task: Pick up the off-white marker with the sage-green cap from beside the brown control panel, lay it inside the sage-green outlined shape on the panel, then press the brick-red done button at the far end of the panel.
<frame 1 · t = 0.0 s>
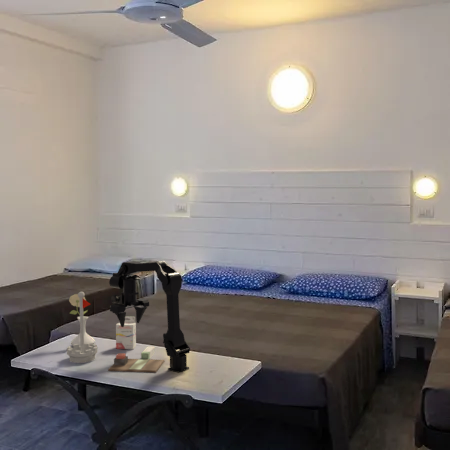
hand: (130, 324, 249), 15 cm above the table, fingers open, 9 cm apart
done button: (120, 357, 238), point 4 cm above the table, slide at 0.0 cm
flower in vase: (81, 346, 270), on the table
marker: (148, 356, 251), on the table
ink cartridge box: (126, 348, 266), on the table
flag stand: (82, 359, 248), on the table
brown control panel: (137, 366, 237), on the table
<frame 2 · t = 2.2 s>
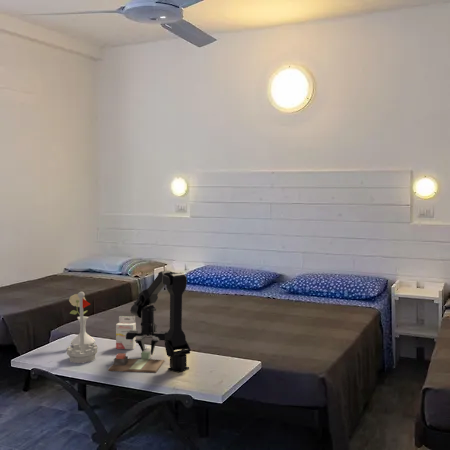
hand: (148, 354, 251), 1 cm above the table, fingers closed on marker, 3 cm apart
marker: (148, 356, 251), on the table, touching gripper
everything else where it was.
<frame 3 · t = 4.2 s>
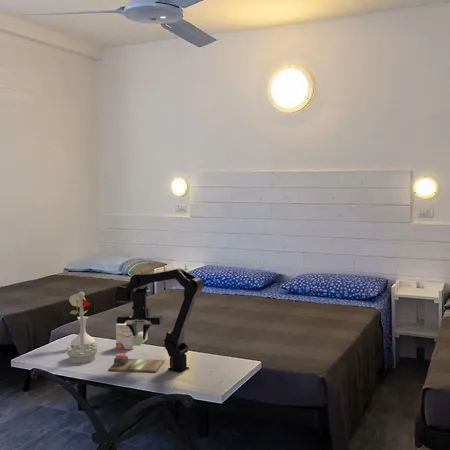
hand: (140, 339, 238), 11 cm above the table, fingers closed on marker, 3 cm apart
marker: (140, 342, 238), point 10 cm above the table, touching gripper
everything else where it was.
when the fingers open (3 cm above the table, at t = 6.1 s): marker stays where it is, resting on brown control panel.
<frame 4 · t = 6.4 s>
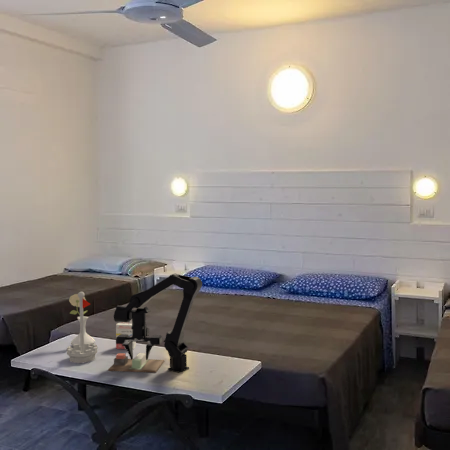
hand: (139, 359, 237), 3 cm above the table, fingers open, 6 cm apart
marker: (139, 364, 237), point 1 cm above the table, touching brown control panel
everything else where it was.
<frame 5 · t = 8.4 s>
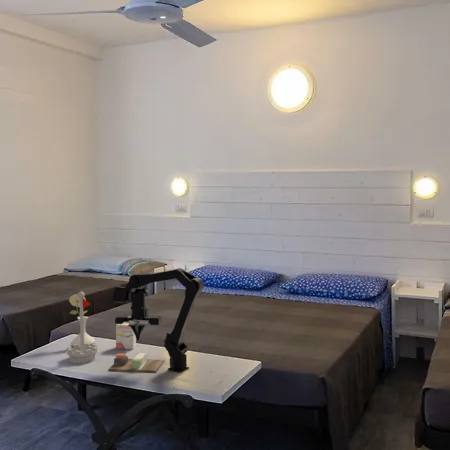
hand: (138, 340, 237), 11 cm above the table, fingers closed
nothing on the table moved.
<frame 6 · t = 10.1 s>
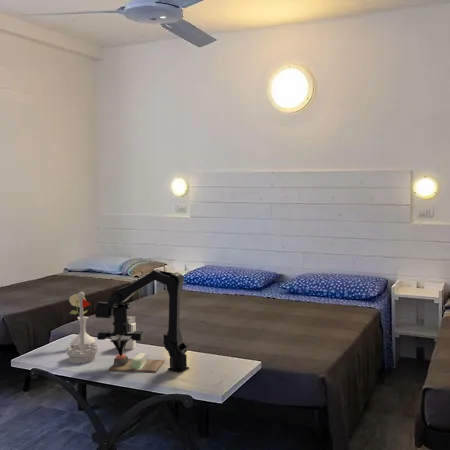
hand: (121, 355, 238), 4 cm above the table, fingers closed, pressing on done button
done button: (120, 358, 238), point 3 cm above the table, slide at 0.4 cm, touching gripper
everything else where it was.
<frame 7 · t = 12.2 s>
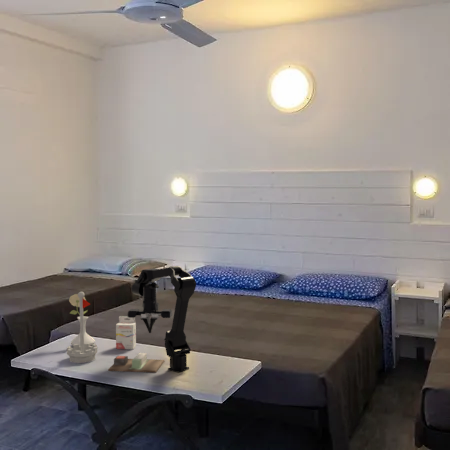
hand: (150, 332, 247), 12 cm above the table, fingers closed
done button: (121, 359, 238), point 2 cm above the table, slide at 1.2 cm
everything else where it was.
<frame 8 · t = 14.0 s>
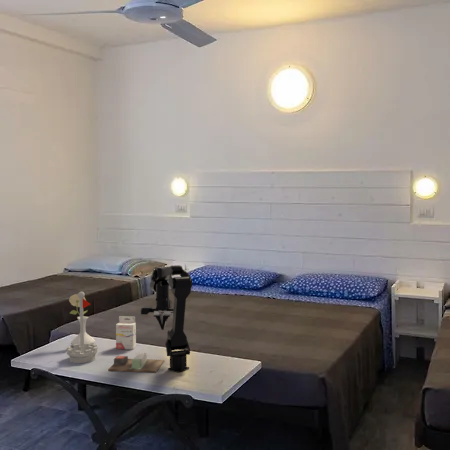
hand: (163, 329, 251), 12 cm above the table, fingers closed
nothing on the table moved.
at the end: marker 0.0 cm from the target spot, point 0.9 cm above the table; done button slide at 1.2 cm; the gripper is holding nothing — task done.
